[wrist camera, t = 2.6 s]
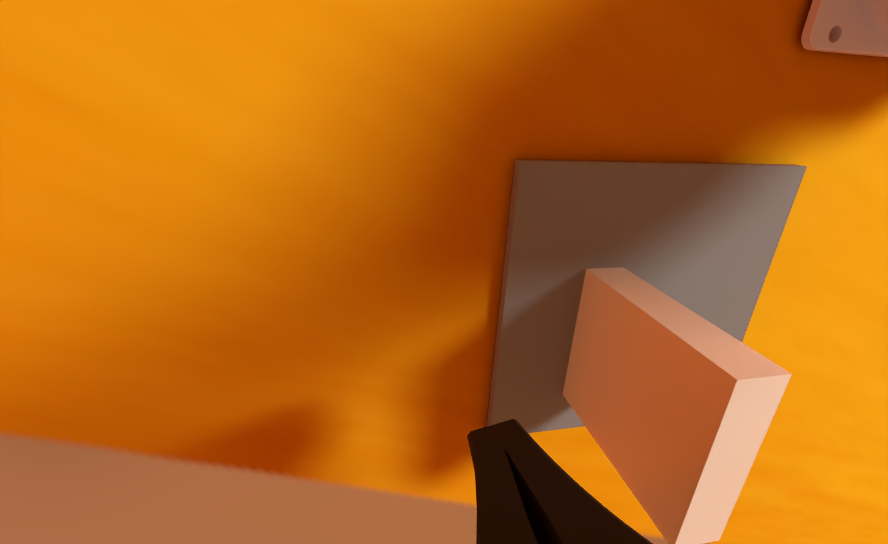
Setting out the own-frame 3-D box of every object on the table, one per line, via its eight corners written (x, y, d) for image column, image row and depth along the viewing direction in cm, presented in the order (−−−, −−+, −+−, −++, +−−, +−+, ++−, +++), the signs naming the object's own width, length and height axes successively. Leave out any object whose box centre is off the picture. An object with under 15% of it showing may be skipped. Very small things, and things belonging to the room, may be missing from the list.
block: (626, 266, 17) (796, 373, 10) (598, 390, 19) (723, 539, 13) (586, 268, 16) (737, 379, 10) (562, 394, 18) (673, 549, 12)
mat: (794, 164, 17) (806, 166, 16) (709, 402, 22) (717, 409, 21) (515, 159, 14) (520, 161, 14) (486, 429, 19) (489, 437, 19)
